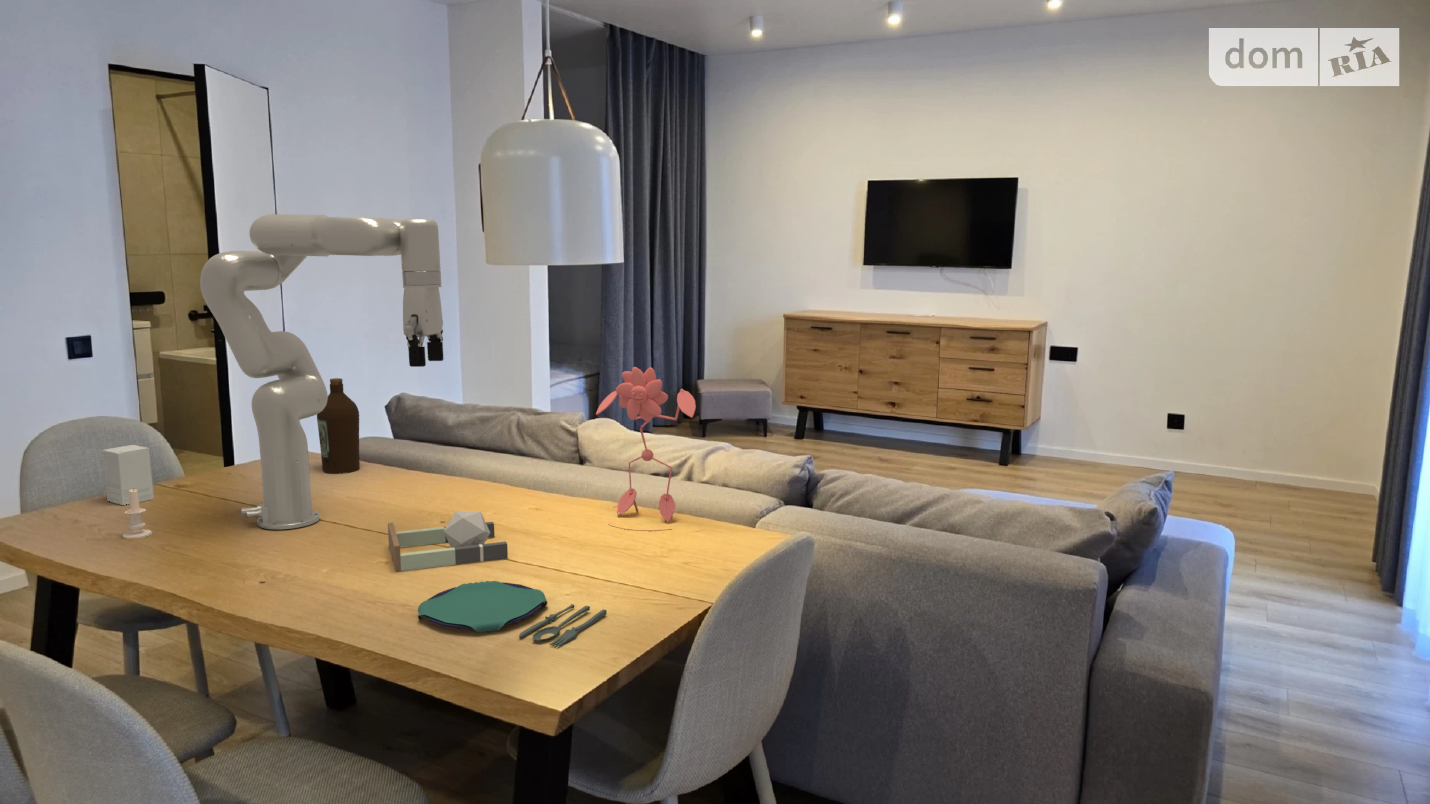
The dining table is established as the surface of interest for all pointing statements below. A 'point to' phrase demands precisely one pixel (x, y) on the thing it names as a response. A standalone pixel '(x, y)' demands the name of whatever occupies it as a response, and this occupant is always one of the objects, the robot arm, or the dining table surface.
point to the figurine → (644, 400)
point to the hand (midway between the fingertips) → (427, 363)
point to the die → (466, 529)
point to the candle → (135, 518)
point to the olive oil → (339, 431)
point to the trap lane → (439, 555)
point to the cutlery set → (497, 609)
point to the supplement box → (127, 473)
